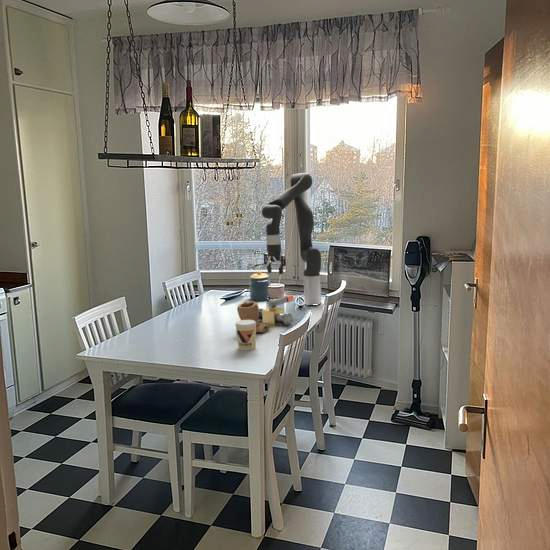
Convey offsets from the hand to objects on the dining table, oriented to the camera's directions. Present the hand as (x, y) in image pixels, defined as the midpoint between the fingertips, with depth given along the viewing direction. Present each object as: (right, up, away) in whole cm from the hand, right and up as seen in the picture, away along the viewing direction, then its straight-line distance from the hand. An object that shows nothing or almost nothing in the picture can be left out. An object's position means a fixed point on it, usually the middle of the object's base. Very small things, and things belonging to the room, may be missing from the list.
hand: (275, 273), depth 307 cm
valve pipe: (-1, -26, -7) cm, 27 cm away
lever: (+3, -16, -4) cm, 17 cm away
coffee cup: (-13, -34, -47) cm, 59 cm away
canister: (-9, -16, +47) cm, 50 cm away
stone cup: (-11, -29, -22) cm, 38 cm away
